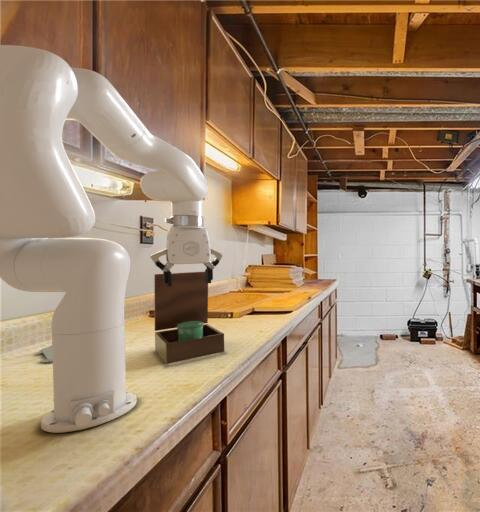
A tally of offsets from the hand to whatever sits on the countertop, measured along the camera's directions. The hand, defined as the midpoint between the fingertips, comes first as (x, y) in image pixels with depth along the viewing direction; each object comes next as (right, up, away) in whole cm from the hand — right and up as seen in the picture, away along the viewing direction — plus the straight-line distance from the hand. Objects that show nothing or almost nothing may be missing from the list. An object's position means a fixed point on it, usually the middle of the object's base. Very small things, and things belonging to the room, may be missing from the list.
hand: (189, 284), depth 88 cm
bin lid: (-5, -5, +6) cm, 9 cm away
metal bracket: (-35, -20, +3) cm, 40 cm away
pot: (0, -19, 0) cm, 19 cm away
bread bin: (-1, -20, +1) cm, 20 cm away
